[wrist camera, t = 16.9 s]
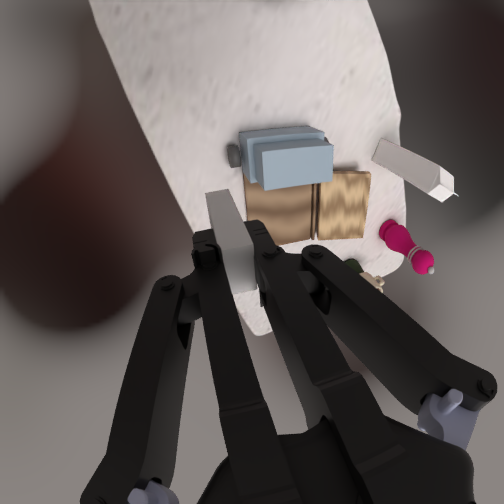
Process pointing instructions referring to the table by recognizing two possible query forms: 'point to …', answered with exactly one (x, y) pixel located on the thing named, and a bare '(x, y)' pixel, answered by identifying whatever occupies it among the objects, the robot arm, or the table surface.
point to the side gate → (343, 205)
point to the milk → (415, 170)
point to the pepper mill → (406, 247)
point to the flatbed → (283, 210)
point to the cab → (284, 157)
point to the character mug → (366, 274)
